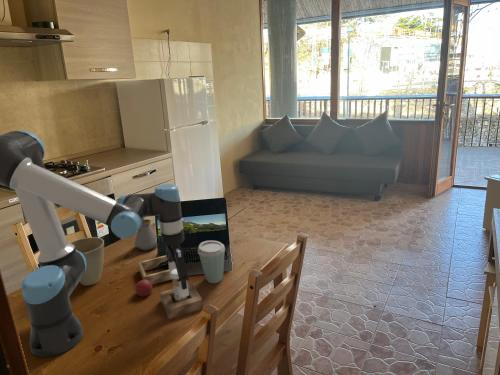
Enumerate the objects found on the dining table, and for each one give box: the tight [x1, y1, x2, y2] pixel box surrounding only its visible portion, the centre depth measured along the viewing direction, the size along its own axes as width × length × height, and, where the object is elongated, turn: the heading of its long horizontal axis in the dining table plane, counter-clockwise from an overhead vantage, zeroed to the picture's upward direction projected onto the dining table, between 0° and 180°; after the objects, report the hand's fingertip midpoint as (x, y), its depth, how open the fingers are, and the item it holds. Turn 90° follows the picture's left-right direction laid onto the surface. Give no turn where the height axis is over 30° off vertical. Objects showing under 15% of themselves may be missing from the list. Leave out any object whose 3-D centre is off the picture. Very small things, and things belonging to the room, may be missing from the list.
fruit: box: [134, 279, 153, 298], centre depth 143 cm, size 6×6×8 cm
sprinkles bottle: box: [171, 269, 188, 303], centre depth 135 cm, size 5×5×14 cm
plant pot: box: [69, 236, 105, 287], centre depth 154 cm, size 15×15×16 cm
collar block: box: [159, 283, 204, 320], centre depth 136 cm, size 12×12×4 cm
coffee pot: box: [111, 218, 158, 251], centre depth 178 cm, size 21×12×15 cm, turn 137°
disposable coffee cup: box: [197, 240, 226, 284], centre depth 149 cm, size 11×11×15 cm
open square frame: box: [137, 254, 172, 286], centre depth 158 cm, size 14×14×4 cm
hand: (179, 286), depth 135 cm, fingers open, 13 cm apart
